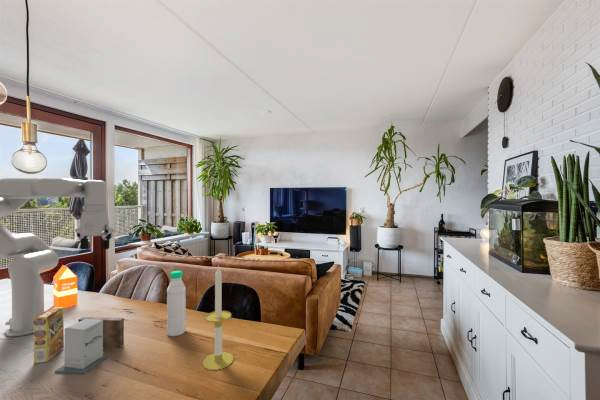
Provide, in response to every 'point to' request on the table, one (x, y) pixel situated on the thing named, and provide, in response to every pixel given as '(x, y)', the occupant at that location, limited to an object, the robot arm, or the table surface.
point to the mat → (81, 371)
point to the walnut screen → (111, 331)
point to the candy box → (48, 334)
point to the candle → (218, 329)
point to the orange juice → (65, 288)
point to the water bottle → (176, 305)
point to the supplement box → (83, 343)
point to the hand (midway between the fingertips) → (95, 248)
